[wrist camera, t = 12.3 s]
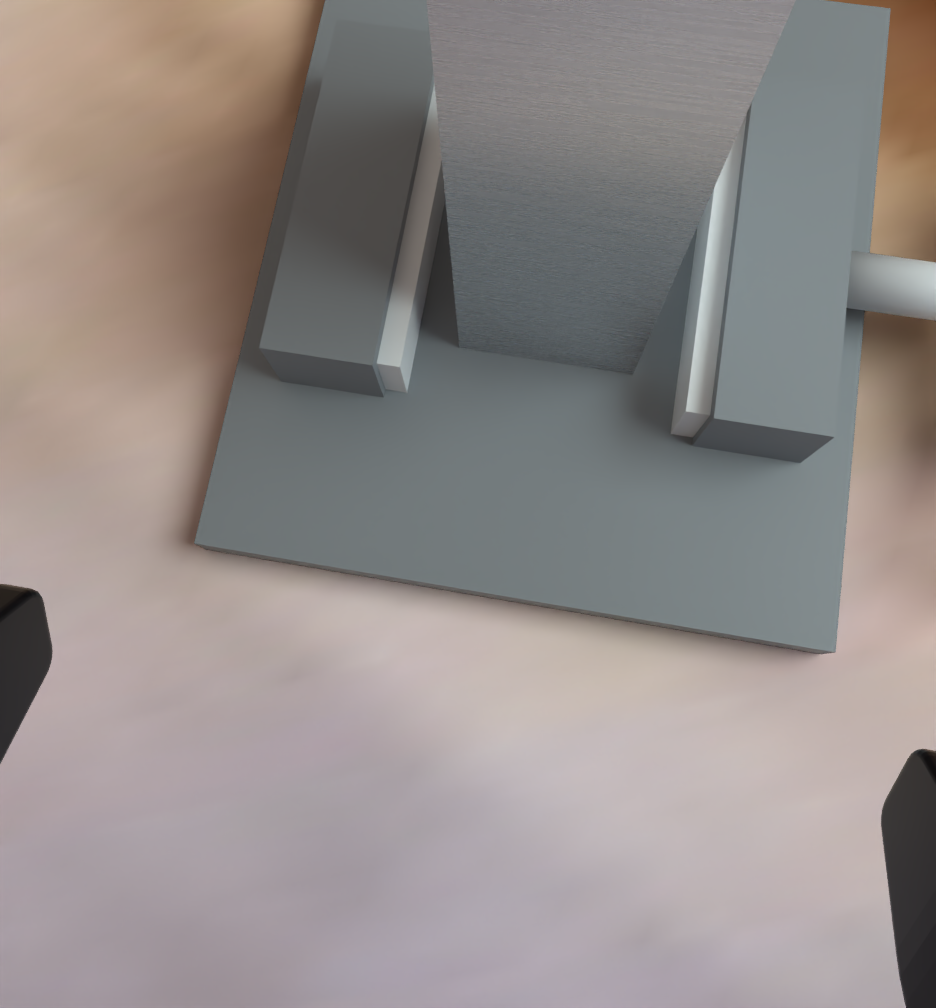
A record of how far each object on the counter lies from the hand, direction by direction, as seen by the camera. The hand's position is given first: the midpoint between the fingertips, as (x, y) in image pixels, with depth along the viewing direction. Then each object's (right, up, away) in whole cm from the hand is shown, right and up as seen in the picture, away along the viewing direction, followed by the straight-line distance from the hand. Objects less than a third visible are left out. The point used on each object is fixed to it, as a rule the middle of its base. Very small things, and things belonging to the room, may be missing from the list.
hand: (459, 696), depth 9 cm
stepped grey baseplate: (+4, +7, +12) cm, 15 cm away
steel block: (+2, +8, +12) cm, 14 cm away
